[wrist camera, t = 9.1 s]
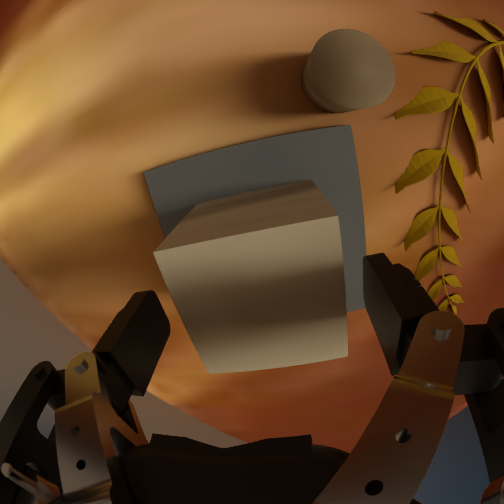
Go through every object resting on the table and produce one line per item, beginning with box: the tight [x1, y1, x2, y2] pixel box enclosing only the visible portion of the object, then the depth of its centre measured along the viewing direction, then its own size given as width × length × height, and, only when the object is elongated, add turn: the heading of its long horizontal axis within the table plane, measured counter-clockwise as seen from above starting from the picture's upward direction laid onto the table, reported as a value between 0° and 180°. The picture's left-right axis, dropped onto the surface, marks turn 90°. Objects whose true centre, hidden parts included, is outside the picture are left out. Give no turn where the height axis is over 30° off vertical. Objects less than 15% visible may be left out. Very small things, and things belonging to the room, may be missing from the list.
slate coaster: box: [144, 125, 366, 312], centre depth 15 cm, size 11×11×1 cm
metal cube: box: [153, 179, 348, 374], centre depth 12 cm, size 6×6×6 cm
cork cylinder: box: [301, 29, 396, 113], centre depth 10 cm, size 4×4×4 cm
